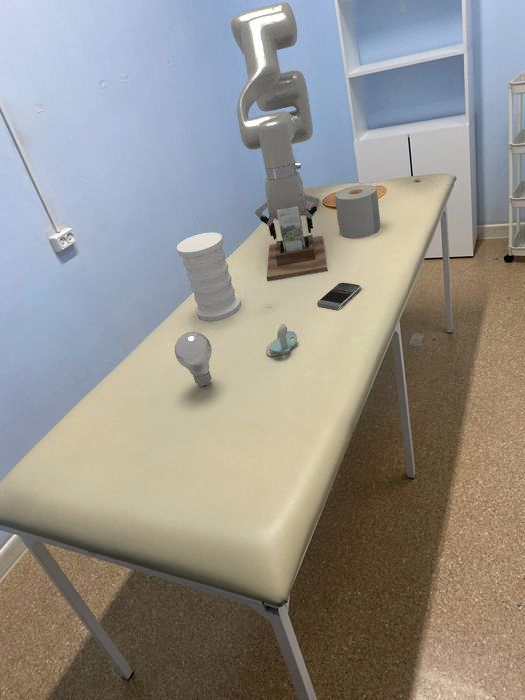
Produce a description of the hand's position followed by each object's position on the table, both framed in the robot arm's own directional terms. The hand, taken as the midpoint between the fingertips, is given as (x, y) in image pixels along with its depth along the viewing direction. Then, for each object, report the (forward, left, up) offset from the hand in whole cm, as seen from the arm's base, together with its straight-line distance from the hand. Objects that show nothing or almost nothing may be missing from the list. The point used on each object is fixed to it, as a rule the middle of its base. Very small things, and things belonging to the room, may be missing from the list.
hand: (292, 234), depth 136 cm
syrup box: (0, 0, -6) cm, 6 cm away
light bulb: (+53, -19, -7) cm, 57 cm away
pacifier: (+44, -4, -8) cm, 45 cm away
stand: (0, 0, -7) cm, 7 cm away
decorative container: (+22, -20, -7) cm, 31 cm away
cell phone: (+26, +10, -8) cm, 29 cm away
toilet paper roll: (-13, +19, -8) cm, 24 cm away
